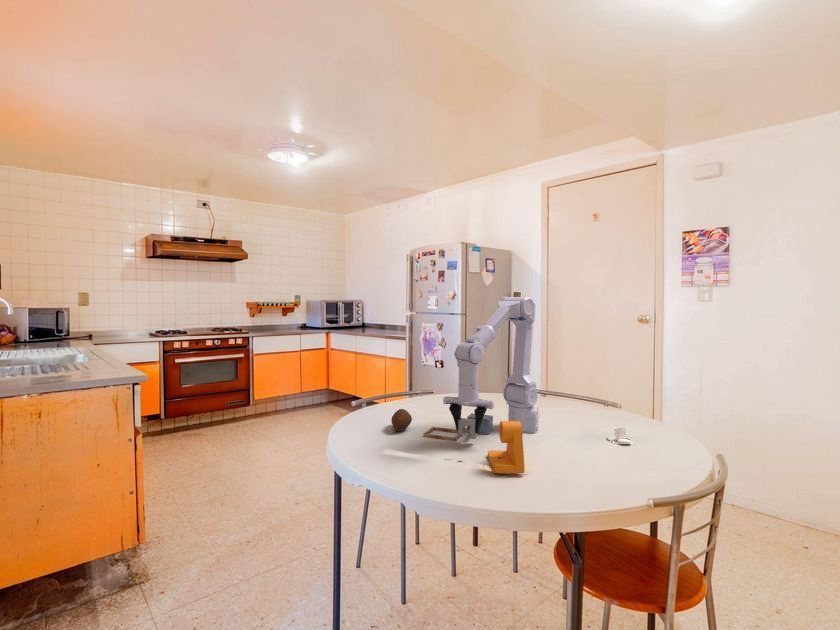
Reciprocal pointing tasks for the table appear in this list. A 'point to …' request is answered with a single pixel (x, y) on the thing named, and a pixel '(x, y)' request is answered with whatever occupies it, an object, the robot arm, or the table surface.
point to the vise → (483, 424)
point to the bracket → (509, 449)
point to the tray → (427, 434)
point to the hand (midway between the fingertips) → (467, 431)
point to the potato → (401, 419)
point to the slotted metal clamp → (466, 422)
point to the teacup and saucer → (621, 436)
